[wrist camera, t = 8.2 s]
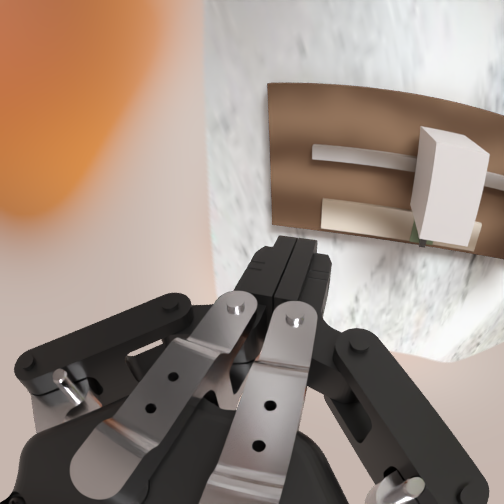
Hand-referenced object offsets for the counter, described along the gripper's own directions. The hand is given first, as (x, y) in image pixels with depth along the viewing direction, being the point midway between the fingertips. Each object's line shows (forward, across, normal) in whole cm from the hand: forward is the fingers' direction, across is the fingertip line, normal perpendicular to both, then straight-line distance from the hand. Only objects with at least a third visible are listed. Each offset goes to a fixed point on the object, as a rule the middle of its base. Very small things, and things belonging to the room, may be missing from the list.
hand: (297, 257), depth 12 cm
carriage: (+16, -9, +2) cm, 18 cm away
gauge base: (+18, -9, +1) cm, 20 cm away
